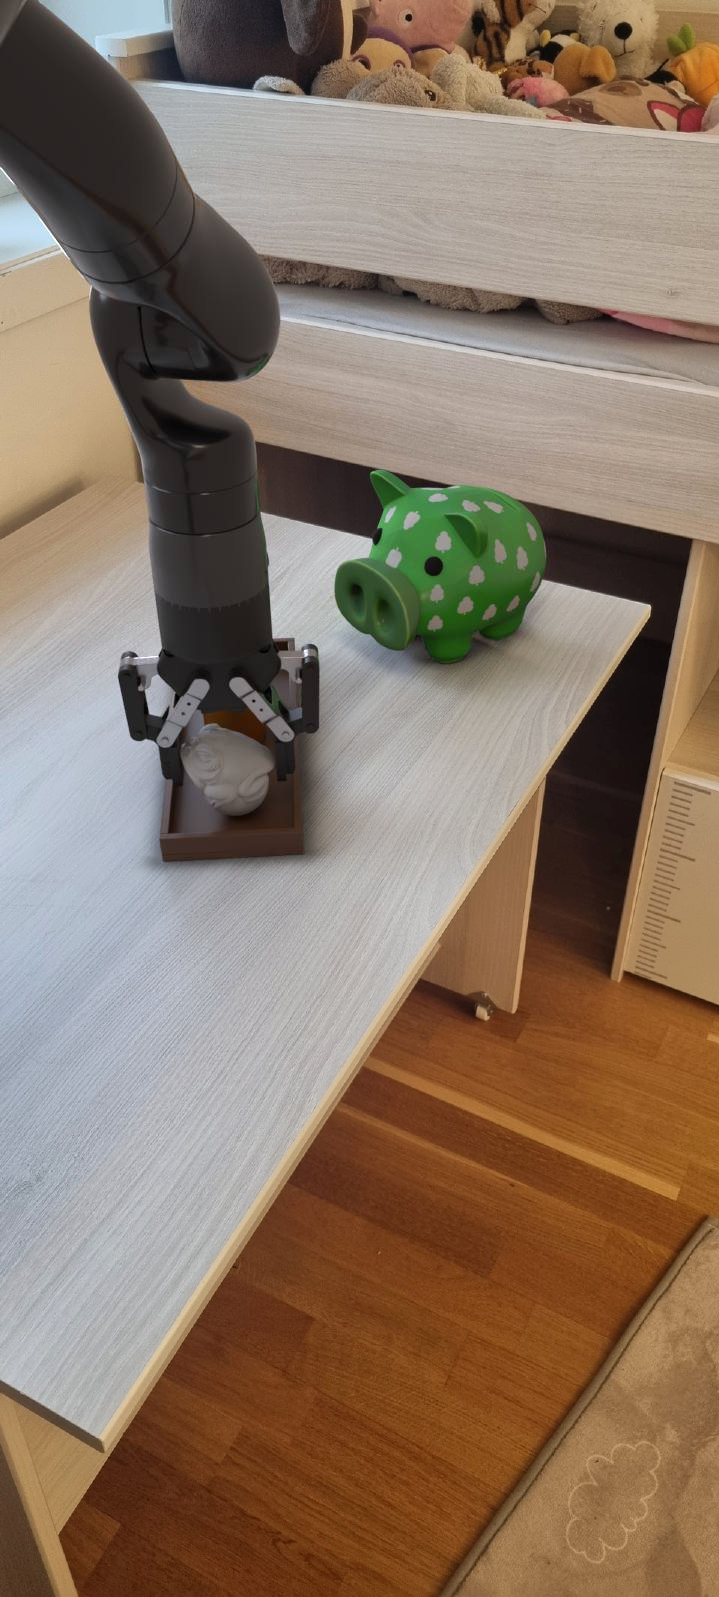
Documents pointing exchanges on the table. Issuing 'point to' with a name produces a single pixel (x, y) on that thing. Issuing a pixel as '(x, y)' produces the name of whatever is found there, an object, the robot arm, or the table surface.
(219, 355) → the robot arm
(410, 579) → the piggy bank
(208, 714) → the amber bottle
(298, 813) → the tray
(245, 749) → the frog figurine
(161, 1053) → the table surface
